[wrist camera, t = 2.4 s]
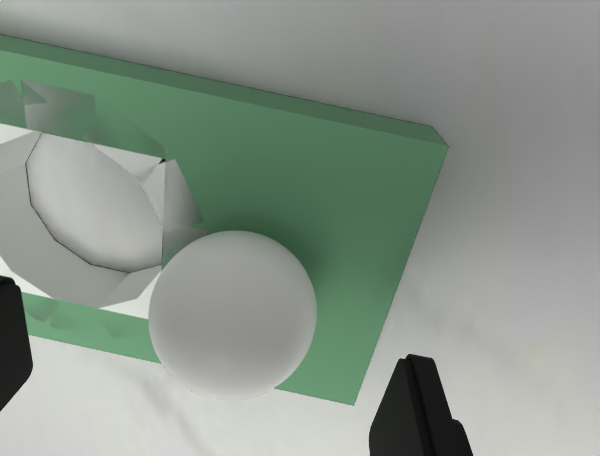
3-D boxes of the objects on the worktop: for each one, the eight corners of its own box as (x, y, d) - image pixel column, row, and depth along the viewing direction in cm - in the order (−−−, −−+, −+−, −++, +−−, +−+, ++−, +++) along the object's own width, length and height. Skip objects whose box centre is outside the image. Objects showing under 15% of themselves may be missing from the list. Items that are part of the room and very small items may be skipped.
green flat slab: (432, 127, 14) (449, 146, 12) (352, 360, 19) (354, 405, 16) (-55, 22, 14) (-132, 21, 12) (-5, 283, 19) (-51, 317, 17)
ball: (335, 222, 13) (330, 318, 9) (306, 335, 15) (291, 456, 11) (188, 190, 13) (111, 271, 9) (181, 307, 15) (116, 418, 11)
